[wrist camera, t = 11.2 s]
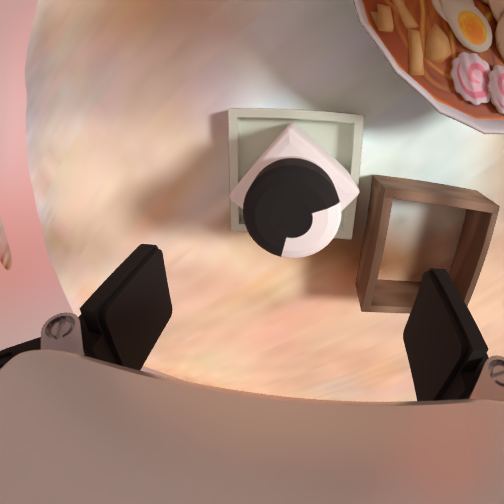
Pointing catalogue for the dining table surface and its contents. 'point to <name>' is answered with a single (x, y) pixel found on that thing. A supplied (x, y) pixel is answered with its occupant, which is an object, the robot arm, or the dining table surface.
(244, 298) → the dining table surface
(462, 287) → the holder
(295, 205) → the medicine bottle
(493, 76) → the ramen bowl
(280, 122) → the tray
